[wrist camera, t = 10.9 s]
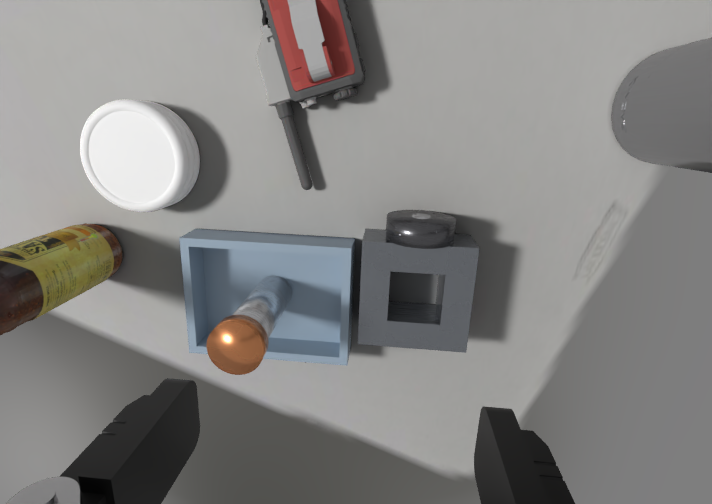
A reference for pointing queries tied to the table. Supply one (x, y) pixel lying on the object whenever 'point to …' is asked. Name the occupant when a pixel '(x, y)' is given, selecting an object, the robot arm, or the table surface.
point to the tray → (266, 258)
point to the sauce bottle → (53, 271)
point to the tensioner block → (417, 255)
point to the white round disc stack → (139, 155)
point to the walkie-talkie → (307, 60)
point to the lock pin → (249, 327)
